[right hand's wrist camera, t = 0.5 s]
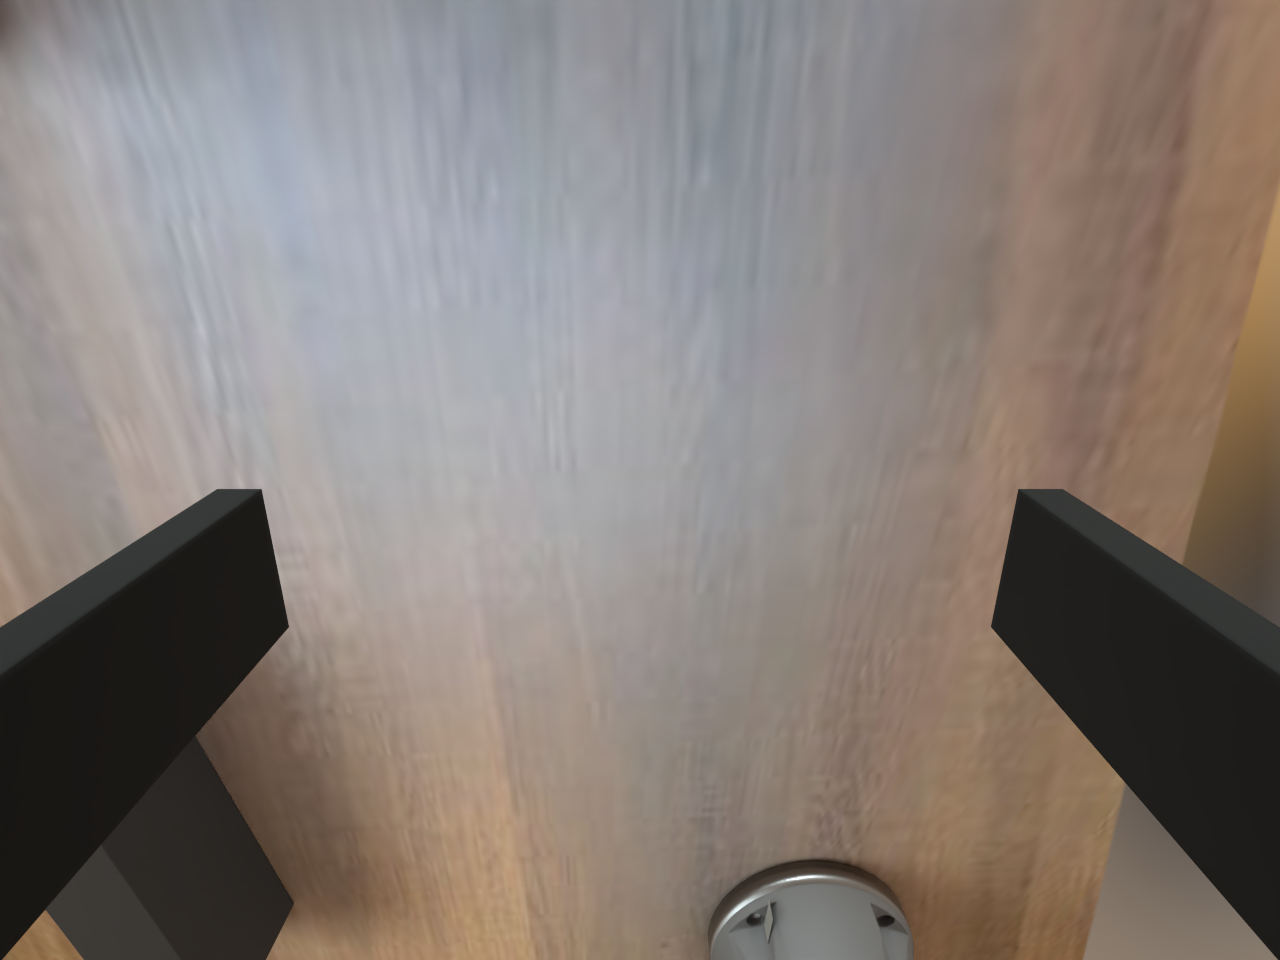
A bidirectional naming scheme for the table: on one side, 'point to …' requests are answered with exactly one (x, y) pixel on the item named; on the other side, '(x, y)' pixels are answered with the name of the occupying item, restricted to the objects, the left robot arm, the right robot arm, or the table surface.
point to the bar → (176, 878)
